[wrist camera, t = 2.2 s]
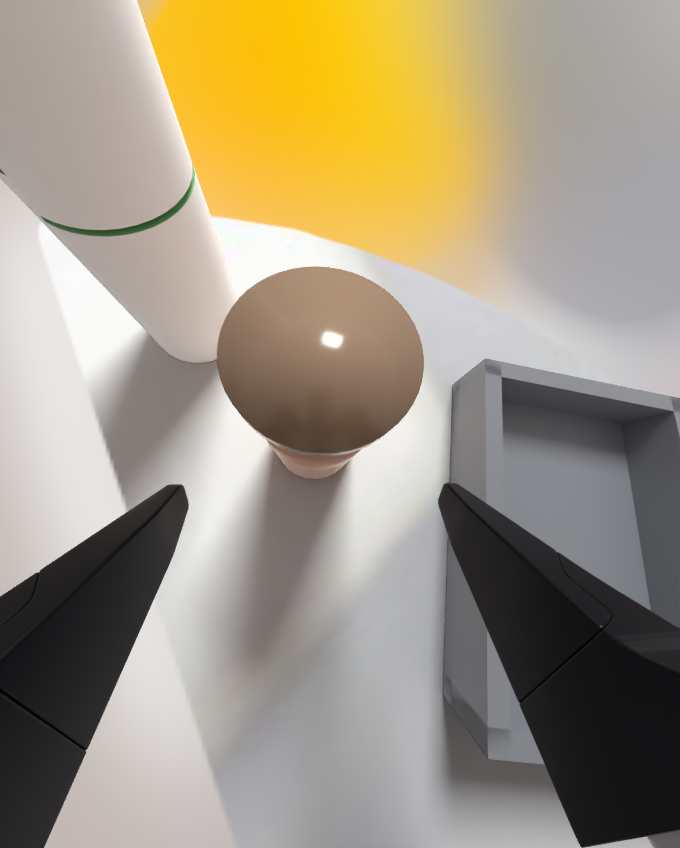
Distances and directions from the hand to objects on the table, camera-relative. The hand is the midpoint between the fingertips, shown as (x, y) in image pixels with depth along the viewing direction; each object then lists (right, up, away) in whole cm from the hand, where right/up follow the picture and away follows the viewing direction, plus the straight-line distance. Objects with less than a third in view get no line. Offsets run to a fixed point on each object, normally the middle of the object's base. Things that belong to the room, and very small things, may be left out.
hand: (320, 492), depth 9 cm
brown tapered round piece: (-1, +1, +11) cm, 12 cm away
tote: (+17, -6, +12) cm, 21 cm away
